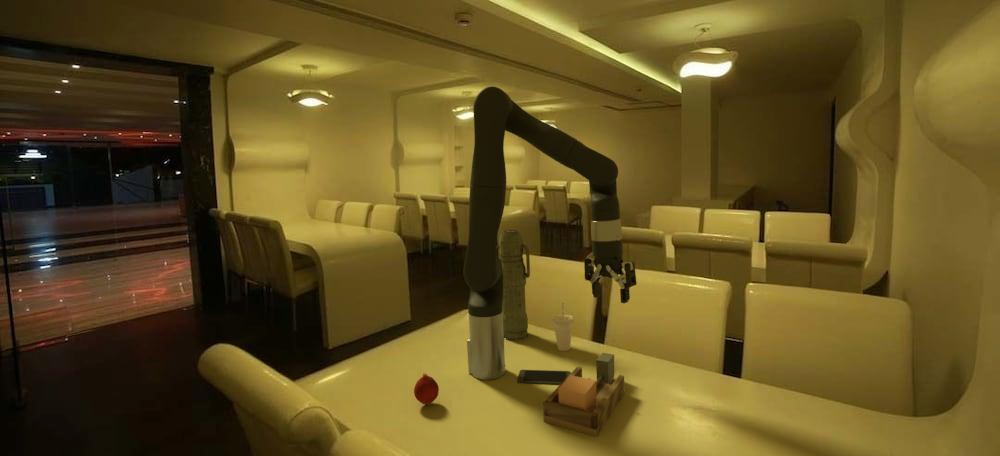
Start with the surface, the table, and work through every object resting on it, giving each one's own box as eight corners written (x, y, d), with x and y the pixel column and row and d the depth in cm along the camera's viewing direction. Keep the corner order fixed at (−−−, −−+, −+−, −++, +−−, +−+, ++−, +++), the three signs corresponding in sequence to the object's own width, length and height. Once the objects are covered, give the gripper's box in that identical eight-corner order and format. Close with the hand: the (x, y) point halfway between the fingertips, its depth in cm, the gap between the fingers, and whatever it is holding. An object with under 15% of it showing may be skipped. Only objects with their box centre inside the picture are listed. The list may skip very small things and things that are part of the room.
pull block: (585, 426, 97) (584, 394, 96) (559, 419, 100) (558, 388, 99) (620, 377, 118) (619, 351, 117) (597, 373, 121) (597, 347, 120)
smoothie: (573, 344, 142) (572, 300, 140) (575, 352, 136) (574, 307, 134) (553, 344, 143) (551, 300, 141) (553, 352, 137) (552, 307, 135)
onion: (443, 400, 112) (441, 369, 110) (432, 412, 106) (430, 380, 105) (422, 397, 113) (420, 366, 112) (410, 409, 108) (408, 377, 107)
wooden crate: (596, 436, 94) (596, 416, 94) (543, 421, 100) (543, 402, 100) (624, 393, 111) (624, 375, 110) (577, 383, 117) (577, 366, 117)
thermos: (500, 329, 158) (495, 229, 153) (534, 331, 155) (530, 228, 150) (494, 339, 149) (489, 233, 144) (529, 341, 146) (526, 233, 142)
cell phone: (520, 371, 126) (519, 369, 126) (571, 373, 123) (571, 371, 123) (516, 384, 119) (516, 381, 119) (570, 386, 116) (570, 383, 116)
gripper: (575, 238, 118) (579, 298, 120) (621, 241, 107) (625, 308, 109) (593, 233, 123) (597, 292, 125) (640, 236, 112) (643, 300, 114)
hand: (610, 299), depth 117 cm, fingers open, 8 cm apart
